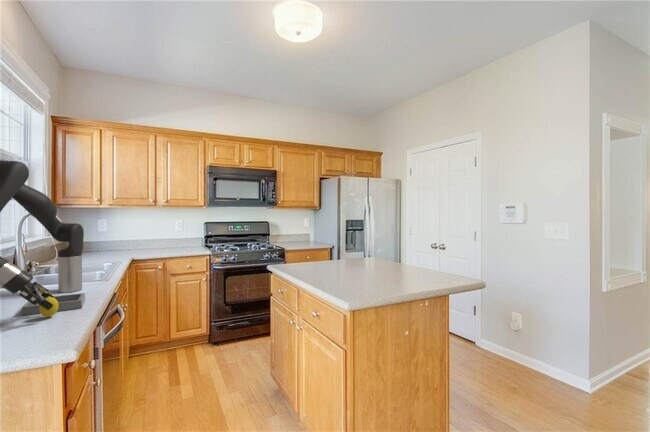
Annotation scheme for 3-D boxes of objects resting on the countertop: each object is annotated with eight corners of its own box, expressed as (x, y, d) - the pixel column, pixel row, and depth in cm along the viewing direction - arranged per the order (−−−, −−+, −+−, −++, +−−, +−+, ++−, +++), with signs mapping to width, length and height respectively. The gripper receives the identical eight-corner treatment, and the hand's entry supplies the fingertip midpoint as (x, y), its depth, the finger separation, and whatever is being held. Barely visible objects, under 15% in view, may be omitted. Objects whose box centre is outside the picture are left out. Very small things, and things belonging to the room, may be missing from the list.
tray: (31, 306, 133) (30, 298, 133) (85, 300, 142) (84, 292, 142) (22, 316, 122) (22, 307, 122) (81, 308, 131) (81, 300, 131)
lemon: (46, 315, 123) (46, 294, 123) (62, 314, 124) (62, 294, 123) (35, 320, 118) (34, 298, 117) (51, 320, 118) (51, 298, 118)
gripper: (15, 273, 110) (59, 301, 116) (26, 266, 122) (65, 292, 129) (-6, 290, 107) (40, 318, 114) (8, 281, 120) (48, 307, 126)
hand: (53, 304), depth 121 cm, fingers open, 8 cm apart
